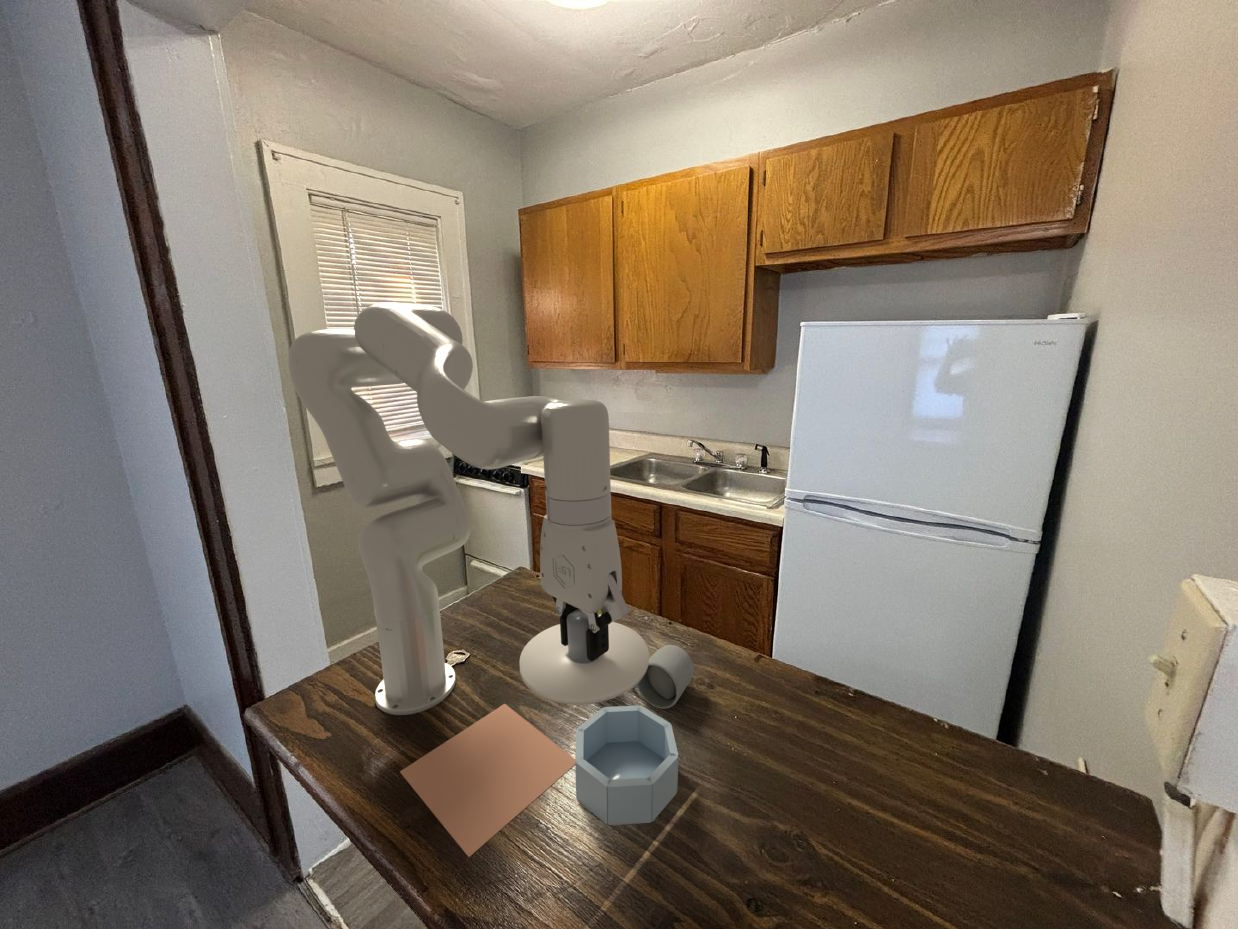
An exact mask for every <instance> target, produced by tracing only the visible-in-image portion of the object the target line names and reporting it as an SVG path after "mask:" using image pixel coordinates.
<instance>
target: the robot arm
mask: <svg viewBox="0 0 1238 929" xmlns="http://www.w3.org/2000/svg"><path fill="white" fill-rule="evenodd" d="M461 329H462V328H461V327H460V324H459V323H458V321H457V320H456V319H455V318H454V316H452V315H451V313H449V312H447V311H446V310H444V309H441V308H439V307H436V306H435V307H434V306H428V305H418V304H409V303H402V302H401V303H399V302H380V303H375V304H372V305H369V306H368V307H365V308H364V309H363V310H362V311H360V313H359V314H358V315H357V316H356V319H355V320H354V325H353V329H337V328H336V329H335V328H334V329H333V328H332V329H320V330H319V329H318V330H313V331H308V332H305V333H302V334H301V335H299V336H298V337H297V338H295V339H294V341H293V342H292V344H291V346H289V347H290V348H289V352H288V367H289V368H288V370H289V375H290V379H291V381H292V385H293V387H294V390H295V391H296V394H297V396H298V398H299V399H300V402H301V403H302V404H303V405H304V407H305V408H306V410H307V411H308V412H309V414H310V415H311V417H312V418H313V419H314V421H315V423H316V424H317V426H318V427H319V429H320V431H321V432H322V434H323V436H324V440H325V441H326V443H327V446H328V449H329V453H330V454H331V456H332V459H333V461H334V463H335V466H336V468H337V470H338V474H339V475H340V478H341V480H342V483H343V486H344V488H345V489H346V490H345V491H346V492H347V494H348V496H349V498H350V500H352V502H353V503H354V504H355V505H356V506H358V507H360V508H364V509H365V508H366V509H373V508H378V507H382V506H387V505H390V504H393V503H397V502H400V501H404V500H408V499H411V498H415V499H416V500H417V502H418V503H417V504H413V505H409V506H406V507H403V508H400V509H399V508H398V509H397V510H392V511H389V512H387V513H384V514H381V515H380V516H377V517H375V518H374V519H372V520H370V521H368V522H367V524H365V525H364V526H363V528H362V529H361V530H360V532H359V534H358V539H357V548H358V553H359V556H360V558H361V561H362V563H363V566H364V569H365V572H366V576H367V578H368V582H369V586H370V592H371V597H372V603H373V611H374V616H375V623H376V624H375V625H376V632H377V637H378V639H377V640H378V645H379V654H380V661H381V662H380V663H381V668H382V678H383V679H382V680H381V681H380V683H379V684H378V686H377V687H376V688H375V693H374V701H375V704H376V707H377V708H378V709H379V710H380V711H382V712H384V713H385V714H388V715H394V716H406V715H414V714H417V713H420V712H424V711H426V710H430V709H431V708H433V707H434V706H437V705H438V704H440V703H441V702H442V701H444V700H445V699H446V698H447V697H448V696H449V695H450V694H451V693H452V691H453V689H455V685H456V682H457V679H456V678H457V677H456V671H455V669H454V668H453V666H451V665H450V664H448V663H446V662H445V660H446V659H445V652H444V641H443V632H442V631H443V629H442V620H441V611H440V608H441V607H440V601H439V593H438V588H437V585H436V583H435V582H434V580H432V578H431V577H429V576H428V575H427V574H426V573H424V571H423V567H424V565H426V564H428V563H430V562H432V561H434V560H436V559H438V558H440V557H441V558H442V556H445V555H447V554H449V553H451V552H454V551H456V550H457V549H458V550H459V549H460V548H462V547H463V545H465V544H466V543H467V541H468V540H469V538H470V536H471V527H472V526H471V521H470V516H469V513H468V510H467V507H466V506H465V502H464V500H463V498H462V495H461V492H460V490H459V487H458V485H457V483H456V480H455V478H454V475H453V472H452V471H451V468H450V466H449V464H448V461H447V459H446V457H445V456H444V454H443V452H442V451H441V450H440V449H439V448H438V447H437V446H436V445H435V444H433V443H432V442H431V441H429V440H427V439H426V440H425V439H419V438H417V439H416V438H415V439H414V438H413V439H408V440H407V439H406V440H401V441H394V440H393V439H392V438H391V437H390V435H389V433H388V431H387V428H386V425H385V423H384V421H383V418H382V416H381V414H380V413H379V412H378V411H377V410H376V409H375V408H374V407H373V406H372V405H371V404H370V403H369V402H368V401H367V400H365V399H364V398H363V397H362V396H360V395H358V394H356V393H355V392H354V391H353V390H352V387H353V388H355V387H373V386H388V385H389V386H390V385H391V386H392V385H401V384H405V385H406V386H408V387H409V388H410V389H412V390H413V391H414V392H415V393H416V404H417V408H418V412H419V416H420V418H421V420H422V422H423V424H424V426H425V429H426V430H427V433H429V434H430V436H431V437H432V438H433V439H434V440H435V441H436V442H438V444H440V445H441V446H442V447H444V448H445V450H448V451H449V452H450V453H452V454H453V455H454V456H456V457H457V458H458V459H460V460H461V461H463V462H464V463H466V464H469V465H470V466H472V467H475V468H478V469H482V470H495V469H496V470H497V469H501V468H504V467H508V466H511V465H515V464H518V463H519V464H520V463H521V462H525V461H530V460H533V459H539V458H543V474H544V489H545V490H544V493H545V505H546V507H545V508H546V510H545V511H546V514H545V515H544V516H543V520H542V525H541V533H540V543H539V544H540V545H539V548H540V549H539V554H540V555H539V564H540V565H539V569H540V572H539V574H540V584H541V588H542V589H543V591H544V592H545V593H547V594H548V595H549V596H551V597H552V599H553V601H554V603H555V611H556V614H557V615H559V624H560V631H561V644H562V645H564V646H567V645H568V634H567V616H568V615H569V614H570V613H571V612H573V611H575V610H579V609H581V610H583V611H585V612H587V615H588V620H589V626H590V628H589V629H588V630H587V631H586V642H587V658H588V660H590V661H594V660H595V659H597V658H598V657H600V656H601V655H603V654H604V653H606V652H607V651H608V650H609V630H608V625H609V624H610V623H612V622H613V621H614V622H616V621H618V620H621V619H623V618H624V617H626V616H628V615H629V613H630V611H629V608H628V606H627V605H628V604H626V601H625V599H624V597H623V593H622V590H623V575H622V573H623V572H622V560H621V551H620V550H621V549H620V544H619V538H618V532H617V528H616V524H615V520H613V519H612V492H611V491H612V490H611V488H612V487H611V457H610V456H611V454H610V452H611V451H610V450H611V448H610V422H609V421H610V419H609V412H608V408H607V406H606V405H605V404H604V403H603V402H601V401H598V400H591V399H563V400H561V399H558V398H554V397H548V396H542V395H533V396H531V395H530V396H524V397H510V398H502V399H493V400H487V401H483V400H482V399H479V398H477V397H475V396H474V395H473V394H470V392H467V391H466V390H465V389H466V387H467V386H468V384H469V382H470V380H471V379H472V374H473V368H474V366H473V363H474V362H473V359H472V355H471V353H470V352H469V349H467V348H466V347H465V346H464V345H463V341H464V340H463V333H462V330H461ZM599 610H601V612H602V615H601V616H600V617H598V614H597V612H598V611H599Z"/></svg>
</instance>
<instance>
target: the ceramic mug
mask: <svg viewBox="0 0 1238 929" xmlns="http://www.w3.org/2000/svg"><path fill="white" fill-rule="evenodd" d="M694 672H695V665H694V662H693V659H692V657H691V655H690V654H689V652H687V651H686V650H685V649H684V648H682V647H681V646H679V645H676V644H666V645H663V646H661V647H660V648H659V649H657V650H656V651H655V652H654V653H653V654H652V655H651V656H649V663H648V668H647V671H646V673H645V675H644V676H643V678H642V679H641V680H640V682H639V683H637V684H636V685H635V686H634V687H633V688H634V689H637V690H638V692H639V693H640V695H641V697H642V698H643V699H644V701H646V703H648V704H649V705H651V706H653V707H655V708H658V709H661V710H665V709H666V710H667V709H670V708H672V707H674V706H675V705H676V704H677V702H678V700H680V698H681V696H682V695H683V693H684V691H685V690H686V688H687V687H688V685H689V684H690V682H691V680H692V678H693V675H694ZM633 688H632V689H633Z"/></svg>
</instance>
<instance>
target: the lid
mask: <svg viewBox="0 0 1238 929" xmlns="http://www.w3.org/2000/svg"><path fill="white" fill-rule="evenodd" d="M597 614H598V613H597ZM598 617H599V614H598ZM589 628H590V626H589V620H588V615H587V612H585V611H583V610H581V609H579V610H575V611H573V612H571V613H570V614H569V615H568V616H567V634H568V645H567V646H564V645H562V644H561V631H560V623H559V624H556V625H552V626H550V627H549V628H546V629H545V630H544V629H543V630H542V631H541V632H539V633H538V634H536V635H535V636H534V637H532V638H531V639H530V640H529V641H528V642H527V644H525V646H524V647H523V649H522V651H521V653H520V657H519V661H518V662H519V674H520V677H521V679H522V681H523V683H524V685H526V687H527V688H528V689H529V690H530V691H531V692H533V693H534V694H536V695H537V696H539V697H541V698H543V699H546V700H548V701H551V702H555V703H559V704H565V705H590V704H597V703H601V702H606V701H610V700H612V699H615V698H617V697H620V696H622V695H623V694H625V693H627V692H629V691H630V690H632V689H633V687H634V686H635V685H636V684H637V683H639V682H640V680H641V679H642V678H643V676H644V675H645V673H646V671H647V668H648V663H649V658H650V654H649V648H648V645H647V643H646V641H645V639H644V638H643V637H642V636H641V635H640V634H639V633H638V632H636V631H635V630H634V629H632V628H630V627H628V626H626V625H624V624H621V623H618V622H616V621H614V622H612V623H610V624H609V625H608V630H609V650H608V651H607V652H606V653H604V654H603V655H601V656H600V657H598V658H597V659H595V660H594V661H590V660H588V658H587V642H586V631H587V630H588V629H589Z"/></svg>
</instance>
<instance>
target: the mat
mask: <svg viewBox="0 0 1238 929" xmlns="http://www.w3.org/2000/svg"><path fill="white" fill-rule="evenodd" d="M574 766H575V757H573V756H572V755H570V754H569V753H568V752H567V751H565V750H564V749H563V748H561V747H560V746H559V745H558V744H557V743H555V742H554V741H553V740H552V739H550V738H549V737H548V736H547V735H545V734H544V733H543V732H542V731H540V730H539V729H538V728H537V727H535V726H534V725H533V724H531V723H530V722H529V721H528V720H526V719H525V718H524V717H522V716H521V715H520V714H519V713H517V712H516V711H515V710H513V709H512V707H510V706H508V705H507V704H506V703H504V704H502V705H500V706H499V707H498V708H496V709H494V710H492V712H490V713H488V714H487V715H485V716H483V717H482V718H480V719H479V720H477V721H476V722H474V723H473V724H471V725H469V726H468V727H466V728H465V729H463V730H461V731H460V732H459V733H457V734H456V735H453V737H451V738H449V739H448V740H446V741H444V742H443V743H442V744H440V745H438V746H437V747H435V748H434V749H432V750H431V751H428V753H426V754H425V755H423V756H422V757H420V758H418V759H417V760H415V761H414V762H413V763H411V764H410V765H408V766H406V767H405V768H403V769H402V770H400V771H399V773H400V774H401V775H402V777H403V778H404V779H405V780H406V782H408V784H409V785H410V786H411V788H412V789H413V790H414V791H415V793H416V794H417V796H419V798H420V799H421V800H422V802H424V804H425V806H426V807H427V808H429V810H430V811H431V813H432V814H433V815H434V816H435V818H436V819H437V820H438V822H439V823H440V824H441V825H442V826H443V827H444V829H445V830H446V831H447V832H448V833H449V835H450V836H451V837H452V839H453V840H454V841H455V843H457V845H458V846H459V847H460V849H461V850H462V851H463V852H464V853H465V855H466V856H467V858H470V857H472V855H473V854H475V853H476V852H477V851H478V850H479V849H481V847H483V846H484V845H485V844H486V843H487V842H488V841H490V840H491V839H492V838H493V837H495V835H497V834H498V833H499V832H500V831H502V829H504V828H505V827H506V826H507V825H508V824H509V823H510V822H511V821H512V820H514V819H515V818H516V817H517V816H519V815H520V813H522V812H523V811H524V810H525V809H526V808H527V807H529V806H530V805H531V804H532V803H533V802H535V800H537V799H538V798H539V797H540V796H541V795H542V794H543V793H545V792H546V791H547V790H548V789H550V787H551V786H553V785H554V784H555V783H556V782H557V781H559V779H561V778H562V777H563V776H564V775H565V774H567V773H568V771H570V770H571V769H572V768H574Z"/></svg>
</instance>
